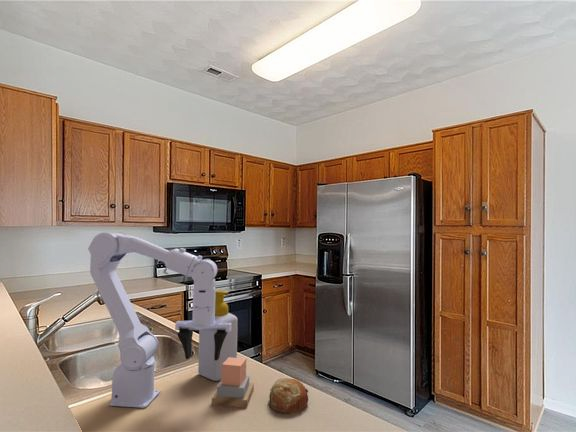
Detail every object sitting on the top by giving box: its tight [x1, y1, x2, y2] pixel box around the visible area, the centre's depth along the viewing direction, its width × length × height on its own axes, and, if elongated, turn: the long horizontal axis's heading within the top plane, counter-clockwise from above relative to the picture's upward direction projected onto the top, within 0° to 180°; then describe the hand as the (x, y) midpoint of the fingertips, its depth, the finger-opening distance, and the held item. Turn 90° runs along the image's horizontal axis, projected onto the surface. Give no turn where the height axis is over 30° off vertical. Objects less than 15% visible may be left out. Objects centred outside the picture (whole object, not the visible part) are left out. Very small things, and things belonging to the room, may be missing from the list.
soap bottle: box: [197, 289, 239, 382], centre depth 101 cm, size 9×9×25 cm
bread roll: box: [267, 377, 309, 415], centre depth 84 cm, size 10×10×8 cm
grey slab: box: [216, 375, 250, 398], centre depth 86 cm, size 7×7×2 cm
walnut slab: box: [211, 382, 255, 408], centre depth 86 cm, size 9×9×2 cm
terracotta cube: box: [222, 357, 247, 386], centre depth 87 cm, size 5×5×5 cm
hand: (202, 358), depth 86 cm, fingers open, 7 cm apart
